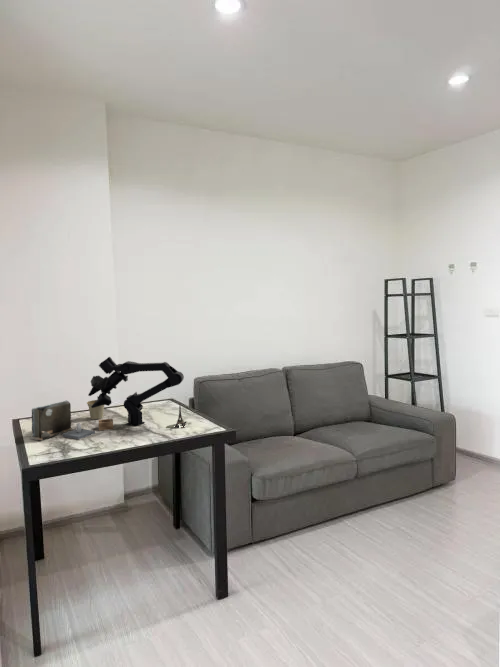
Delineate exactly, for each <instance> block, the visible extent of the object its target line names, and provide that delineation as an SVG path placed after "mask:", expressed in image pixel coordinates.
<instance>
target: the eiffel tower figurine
mask: <svg viewBox="0 0 500 667" xmlns="http://www.w3.org/2000/svg"><path fill="white" fill-rule="evenodd" d="M181 403H182V402H179V403H178V404H179V407H178V409H179V410H178V411H179V412H178V418H177V421H176V423H173V424H169V425H166V426H165V428H166V429H167V428H171V429H180V428H179V425H180V426H183V428H182V429H186V427H184V426H185V425H187V423H185V422H186V421H184V419H183V415H182V408H181ZM178 424H179V425H178ZM174 426H175V427H174ZM173 427H174V428H173Z"/></svg>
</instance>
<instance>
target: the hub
mask: <svg viewBox="0 0 500 667" xmlns="http://www.w3.org/2000/svg"><path fill="white" fill-rule="evenodd" d="M75 427H76V429H73V430H71V431H70V430H69V431H67V432H64V433H62V437H63V438H64V437H65V438H69V439H75V440H80V439H81V440H82V439H84V438H86V437H87V438H88V437H89V436H92V435H96V431H95V430H92V429H85V428H82V423H79V422H78V423H76V426H75Z"/></svg>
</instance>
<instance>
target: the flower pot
mask: <svg viewBox="0 0 500 667" xmlns="http://www.w3.org/2000/svg"><path fill="white" fill-rule="evenodd" d="M96 400H97V399H93V400H89V401H87V402H86V405H87V406H88V411H89V412H88V413H89V415H90V416H89V417H90V419H91V420H102V419H104V409H105V405H101V406H98V407H94V408H92V407H91V406H92V405H93V404H94V403H95V402H96Z"/></svg>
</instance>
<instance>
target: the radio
mask: <svg viewBox="0 0 500 667" xmlns="http://www.w3.org/2000/svg"><path fill="white" fill-rule="evenodd" d="M71 410H72V408H71V403H70V401H69V400H62V401H59V402H54V403H50V404H47V405H41V406H38V407H37V406H36V407H32V409H31V432H32V433H31V436H30V440H35V441H38V440H39V441H43V440H48V439H50V438H52V437H55V436H59V435H62V434H64V433H67V432H69V431H70V430H72V429H73V428H72V412H71Z"/></svg>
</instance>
